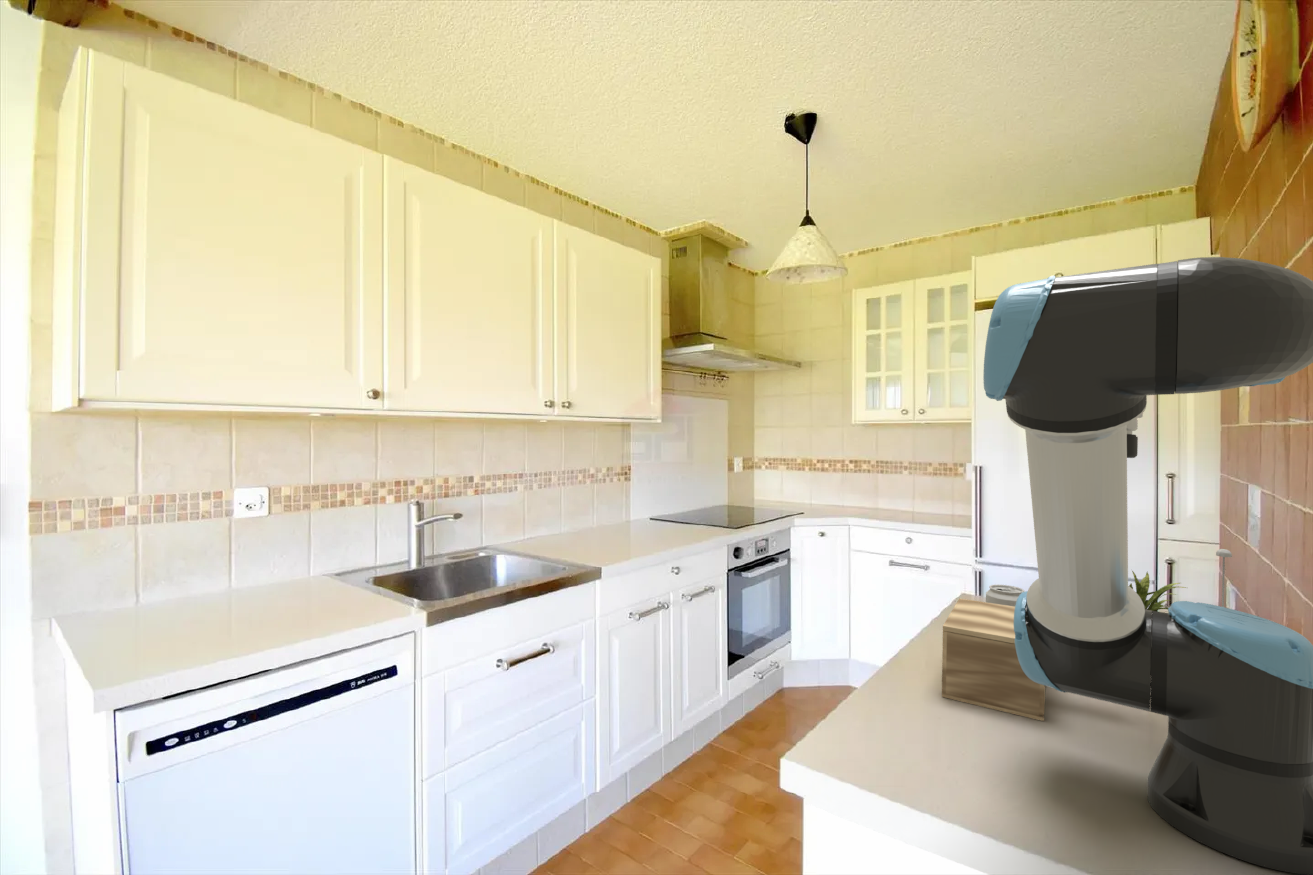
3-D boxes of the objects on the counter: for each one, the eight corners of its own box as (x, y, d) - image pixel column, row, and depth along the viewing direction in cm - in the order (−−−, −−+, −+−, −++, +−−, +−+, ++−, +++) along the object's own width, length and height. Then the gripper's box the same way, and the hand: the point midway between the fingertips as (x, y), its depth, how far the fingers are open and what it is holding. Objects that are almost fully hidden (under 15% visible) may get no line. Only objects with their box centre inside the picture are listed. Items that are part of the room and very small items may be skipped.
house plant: (1204, 673, 107) (1205, 584, 107) (1110, 660, 113) (1111, 575, 113) (1175, 648, 120) (1176, 568, 120) (1092, 637, 126) (1094, 561, 126)
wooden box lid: (1134, 680, 82) (1135, 637, 82) (942, 643, 96) (943, 606, 96) (1121, 639, 99) (1121, 604, 99) (959, 613, 113) (959, 582, 113)
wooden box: (1043, 721, 88) (1045, 649, 88) (941, 696, 96) (942, 631, 96) (1045, 676, 105) (1046, 616, 105) (958, 658, 113) (959, 602, 113)
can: (977, 638, 124) (978, 582, 124) (1014, 639, 124) (1015, 583, 124) (997, 651, 117) (998, 591, 117) (1035, 652, 116) (1036, 592, 116)
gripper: (1153, 430, 81) (1151, 584, 81) (1124, 435, 102) (1122, 557, 102) (1086, 429, 85) (1083, 576, 84) (1071, 434, 106) (1069, 552, 106)
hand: (1104, 566), depth 93 cm, fingers open, 13 cm apart
